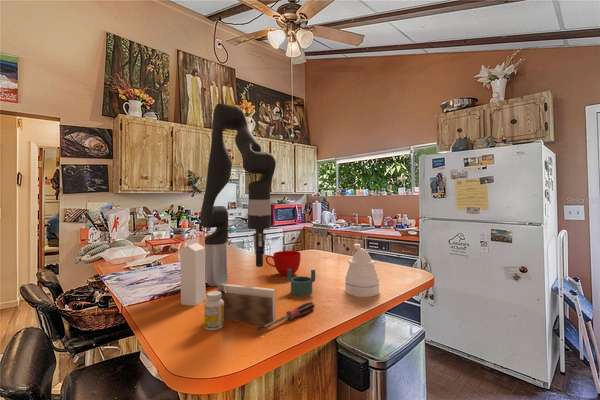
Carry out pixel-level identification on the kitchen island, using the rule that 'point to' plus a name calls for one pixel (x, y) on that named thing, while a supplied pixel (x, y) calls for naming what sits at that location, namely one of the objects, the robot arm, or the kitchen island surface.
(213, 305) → the supplement bottle
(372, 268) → the honey pot
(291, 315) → the screwdriver
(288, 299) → the kitchen island surface
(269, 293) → the cream flat slab
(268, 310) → the brown rectangular block
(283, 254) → the ceramic cup
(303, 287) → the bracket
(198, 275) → the milk
